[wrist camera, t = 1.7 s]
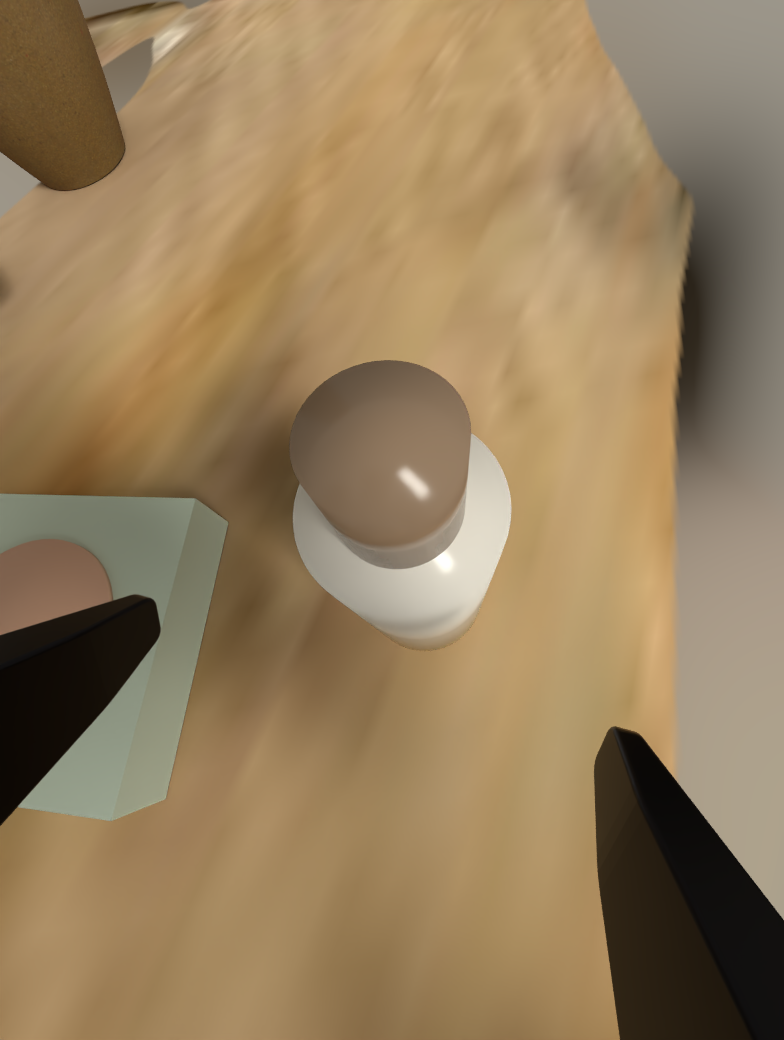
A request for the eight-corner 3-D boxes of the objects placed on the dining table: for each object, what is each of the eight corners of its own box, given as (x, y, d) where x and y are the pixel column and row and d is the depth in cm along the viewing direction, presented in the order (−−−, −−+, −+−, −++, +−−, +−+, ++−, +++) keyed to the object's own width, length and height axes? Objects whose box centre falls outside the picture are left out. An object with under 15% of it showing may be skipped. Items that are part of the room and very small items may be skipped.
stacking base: (165, 799, 17) (104, 823, 14) (-79, 765, 19) (-180, 780, 16) (228, 522, 22) (191, 495, 18) (23, 515, 23) (-42, 490, 20)
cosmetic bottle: (480, 655, 18) (544, 594, 6) (363, 646, 19) (200, 576, 6) (481, 541, 20) (531, 310, 7) (373, 537, 20) (261, 321, 8)
